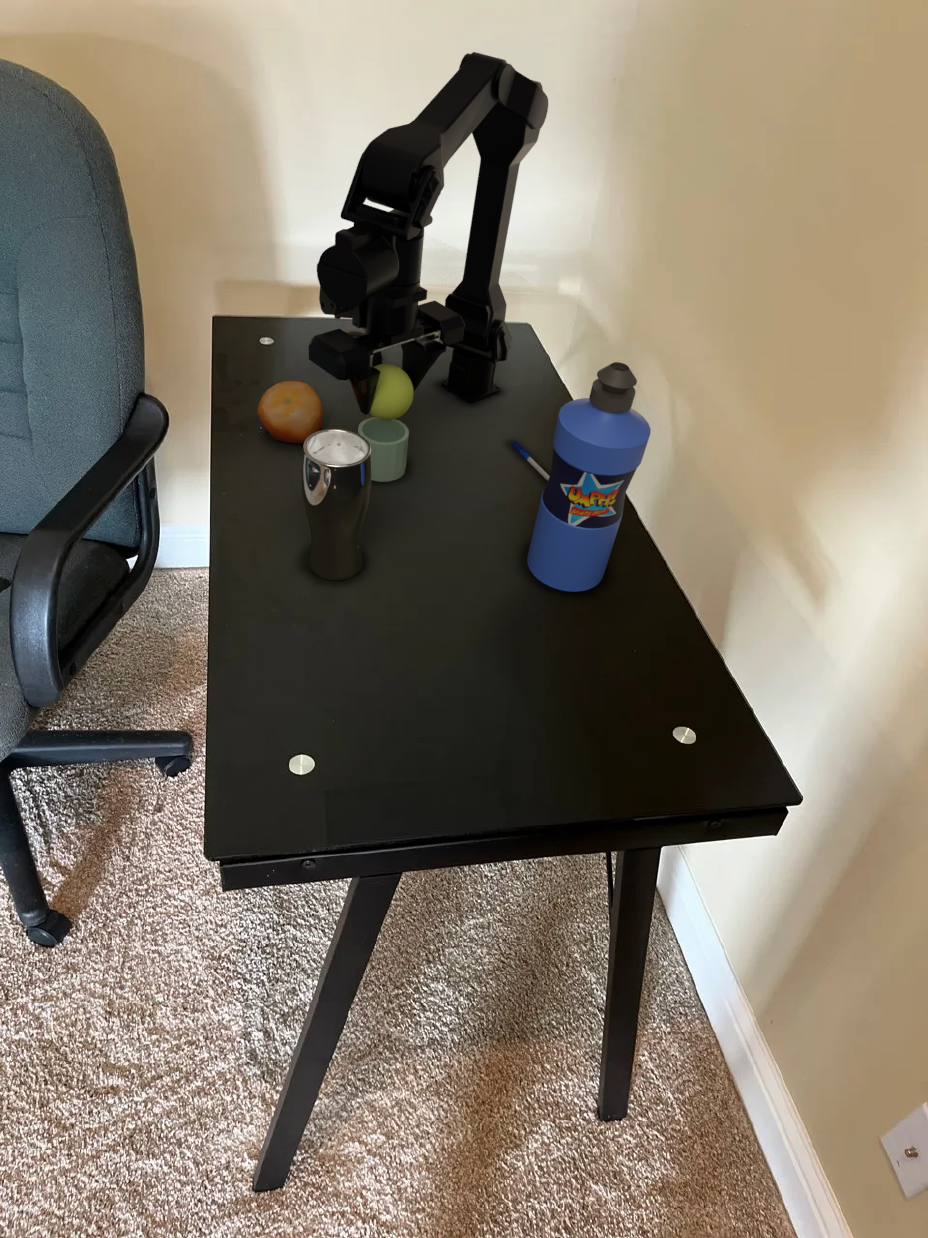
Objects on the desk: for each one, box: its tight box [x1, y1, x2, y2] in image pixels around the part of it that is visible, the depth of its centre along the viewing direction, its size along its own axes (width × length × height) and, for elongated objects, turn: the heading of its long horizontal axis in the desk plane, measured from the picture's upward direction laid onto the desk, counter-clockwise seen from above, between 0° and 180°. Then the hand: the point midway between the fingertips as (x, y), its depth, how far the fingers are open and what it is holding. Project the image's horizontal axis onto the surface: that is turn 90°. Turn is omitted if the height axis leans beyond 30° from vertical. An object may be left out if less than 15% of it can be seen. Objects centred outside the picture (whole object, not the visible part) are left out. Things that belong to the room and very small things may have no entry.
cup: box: [357, 416, 410, 483], centre depth 103 cm, size 6×6×6 cm
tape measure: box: [345, 330, 384, 367], centre depth 122 cm, size 7×7×4 cm
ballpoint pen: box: [511, 440, 550, 482], centre depth 110 cm, size 10×1×1 cm, turn 33°
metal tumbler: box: [301, 428, 372, 581], centre depth 86 cm, size 7×7×15 cm
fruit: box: [257, 380, 324, 444], centre depth 106 cm, size 8×8×8 cm
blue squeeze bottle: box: [526, 361, 652, 593], centre depth 87 cm, size 9×9×25 cm
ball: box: [368, 363, 415, 420], centre depth 98 cm, size 6×6×6 cm
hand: (385, 405), depth 99 cm, fingers closed on ball, 6 cm apart
